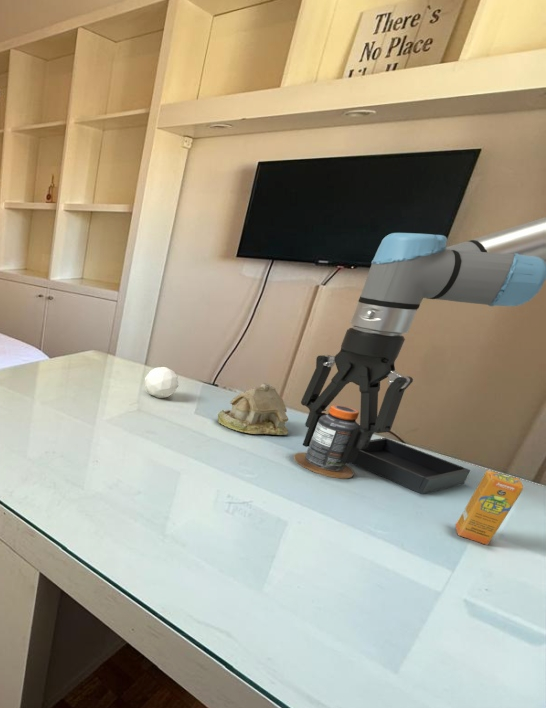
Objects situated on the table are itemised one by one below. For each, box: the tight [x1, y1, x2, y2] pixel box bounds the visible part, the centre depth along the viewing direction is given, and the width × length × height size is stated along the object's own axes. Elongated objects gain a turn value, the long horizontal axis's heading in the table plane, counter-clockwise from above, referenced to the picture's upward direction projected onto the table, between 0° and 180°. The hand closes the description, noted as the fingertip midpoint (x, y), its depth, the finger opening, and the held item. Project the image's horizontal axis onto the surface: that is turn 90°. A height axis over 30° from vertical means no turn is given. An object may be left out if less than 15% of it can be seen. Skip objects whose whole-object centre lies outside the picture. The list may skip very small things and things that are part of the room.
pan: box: [352, 437, 471, 495], centre depth 85 cm, size 13×13×3 cm
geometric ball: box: [144, 366, 179, 399], centre depth 114 cm, size 8×8×8 cm
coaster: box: [293, 452, 354, 480], centre depth 85 cm, size 9×9×1 cm
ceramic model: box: [217, 382, 289, 436], centre depth 99 cm, size 14×11×10 cm
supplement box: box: [455, 470, 524, 546], centre depth 65 cm, size 3×3×10 cm
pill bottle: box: [305, 404, 360, 471], centre depth 83 cm, size 6×6×11 cm
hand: (327, 453), depth 84 cm, fingers closed on pill bottle, 6 cm apart
